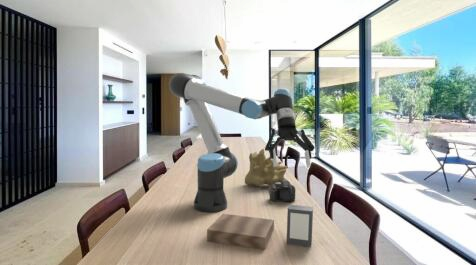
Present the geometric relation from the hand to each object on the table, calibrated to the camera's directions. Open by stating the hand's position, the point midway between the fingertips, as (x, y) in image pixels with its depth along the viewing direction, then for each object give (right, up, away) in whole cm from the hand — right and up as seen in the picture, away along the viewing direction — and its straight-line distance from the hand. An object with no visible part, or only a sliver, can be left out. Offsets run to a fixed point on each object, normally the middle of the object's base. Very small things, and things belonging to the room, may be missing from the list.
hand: (292, 166), depth 120 cm
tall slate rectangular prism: (-1, -24, -17) cm, 29 cm away
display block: (-20, -23, -12) cm, 33 cm away
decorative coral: (-5, -18, +54) cm, 57 cm away
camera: (+1, -20, +29) cm, 35 cm away
